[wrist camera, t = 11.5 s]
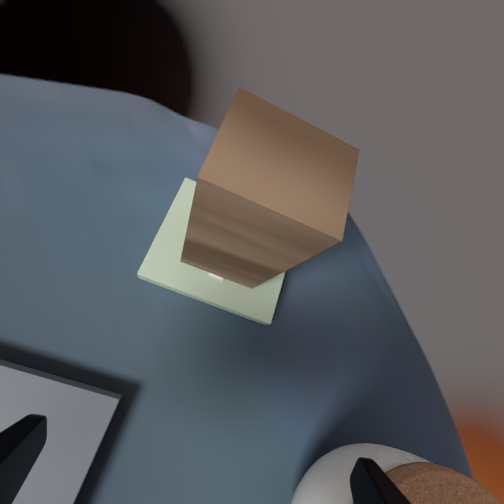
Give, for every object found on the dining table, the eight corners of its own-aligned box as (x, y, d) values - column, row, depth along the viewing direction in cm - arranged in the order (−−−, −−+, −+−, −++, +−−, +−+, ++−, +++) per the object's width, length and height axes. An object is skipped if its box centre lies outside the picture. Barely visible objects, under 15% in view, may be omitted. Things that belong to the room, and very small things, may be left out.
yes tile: (264, 324, 19) (271, 324, 18) (138, 277, 17) (136, 273, 16) (290, 233, 22) (298, 227, 20) (184, 186, 20) (185, 176, 19)
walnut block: (252, 288, 18) (342, 241, 9) (180, 261, 17) (197, 176, 8) (267, 236, 19) (359, 149, 10) (202, 209, 18) (238, 86, 9)
